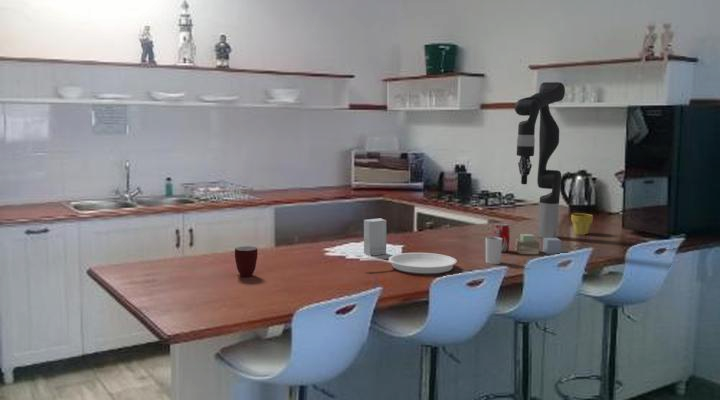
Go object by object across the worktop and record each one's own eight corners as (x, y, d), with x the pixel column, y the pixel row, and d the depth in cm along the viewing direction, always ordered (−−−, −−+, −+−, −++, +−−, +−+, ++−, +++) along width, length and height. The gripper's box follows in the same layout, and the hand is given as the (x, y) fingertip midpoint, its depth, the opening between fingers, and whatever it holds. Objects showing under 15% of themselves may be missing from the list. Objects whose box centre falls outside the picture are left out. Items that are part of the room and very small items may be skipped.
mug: (226, 274, 240) (225, 247, 238) (243, 270, 246) (243, 244, 244) (244, 279, 233) (244, 251, 231) (262, 275, 239) (262, 248, 238)
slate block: (542, 251, 291) (543, 237, 290) (556, 251, 291) (556, 237, 291) (547, 253, 285) (547, 240, 284) (560, 254, 285) (561, 240, 285)
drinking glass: (497, 265, 262) (498, 240, 260) (482, 262, 265) (483, 238, 264) (503, 262, 267) (504, 237, 266) (488, 260, 271) (489, 236, 269)
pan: (468, 274, 247) (468, 261, 246) (369, 280, 236) (370, 267, 235) (440, 259, 272) (440, 248, 271) (350, 264, 261) (350, 252, 260)
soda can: (509, 253, 285) (510, 225, 284) (492, 252, 287) (493, 225, 285) (508, 249, 292) (510, 223, 291) (492, 249, 293) (493, 222, 292)
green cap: (519, 245, 290) (520, 233, 289) (531, 245, 290) (531, 233, 289) (523, 247, 285) (523, 235, 284) (534, 247, 285) (535, 236, 284)
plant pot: (591, 236, 330) (592, 216, 328) (570, 234, 333) (571, 215, 332) (591, 232, 339) (593, 214, 338) (570, 231, 343) (571, 212, 342)
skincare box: (380, 252, 283) (380, 217, 282) (386, 254, 278) (387, 220, 276) (362, 253, 280) (363, 219, 278) (369, 256, 274) (369, 221, 273)
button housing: (515, 250, 292) (515, 239, 291) (533, 250, 292) (533, 239, 291) (520, 253, 284) (520, 242, 283) (538, 254, 284) (539, 242, 283)
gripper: (538, 145, 284) (536, 185, 287) (529, 144, 298) (527, 182, 300) (521, 145, 284) (519, 185, 286) (513, 144, 297) (511, 182, 299)
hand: (523, 184), depth 293 cm, fingers closed
